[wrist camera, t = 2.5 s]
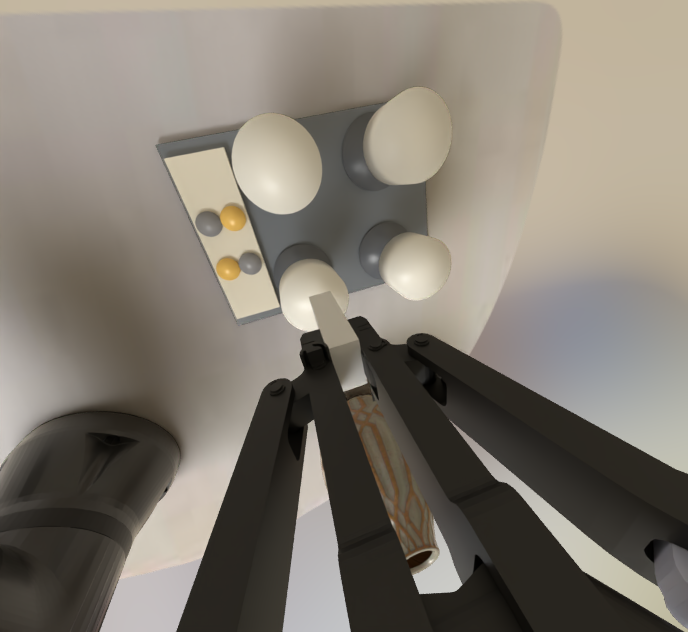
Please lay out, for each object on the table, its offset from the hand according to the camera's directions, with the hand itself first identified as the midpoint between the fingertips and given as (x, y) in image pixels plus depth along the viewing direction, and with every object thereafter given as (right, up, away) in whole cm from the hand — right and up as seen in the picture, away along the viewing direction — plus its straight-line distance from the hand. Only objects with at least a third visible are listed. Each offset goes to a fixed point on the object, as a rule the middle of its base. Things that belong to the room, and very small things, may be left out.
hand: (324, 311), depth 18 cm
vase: (+3, -14, +20) cm, 25 cm away
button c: (+6, +5, +7) cm, 11 cm away
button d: (+5, +13, +3) cm, 14 cm away
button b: (-4, +11, +2) cm, 11 cm away
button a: (-2, +3, +6) cm, 7 cm away
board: (-1, +9, +7) cm, 12 cm away
